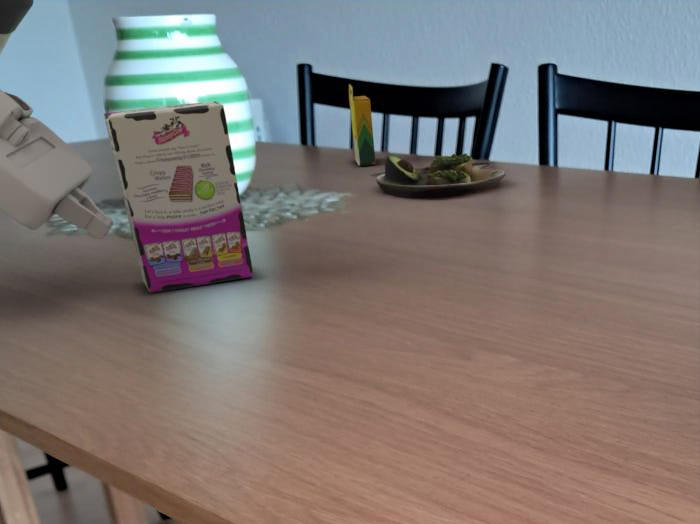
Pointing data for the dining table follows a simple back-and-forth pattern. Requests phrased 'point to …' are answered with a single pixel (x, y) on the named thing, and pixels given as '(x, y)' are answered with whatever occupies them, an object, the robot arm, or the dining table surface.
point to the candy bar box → (180, 194)
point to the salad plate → (436, 177)
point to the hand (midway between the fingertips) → (107, 231)
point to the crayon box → (362, 129)
